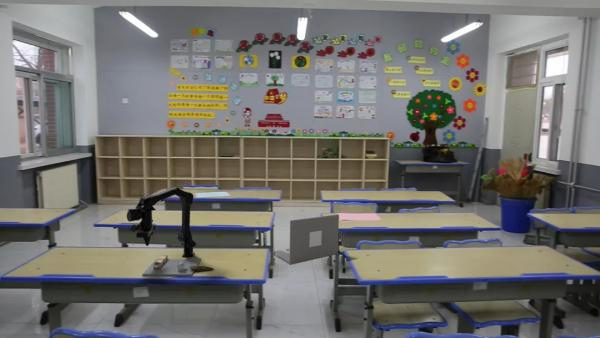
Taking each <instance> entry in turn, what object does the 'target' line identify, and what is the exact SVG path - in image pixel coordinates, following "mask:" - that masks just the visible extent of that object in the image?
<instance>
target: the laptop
mask: <svg viewBox="0 0 600 338" xmlns="http://www.w3.org/2000/svg"><path fill="white" fill-rule="evenodd" d="M339 220H340V214H339V213H337V214H331V215H330V214H329V215H323V216H316V217H307V218H300V219H292V220H289V248H287V249H285V251H284V250H275V251H273V256H274V257H276V258H277V259H279V260H281V261H282V262H284V263H286V264H288V265H290V266H291V265H296V264H301V263H305V262H308V261H313V260H319V259H322V258H323V259H324V258H326V257H330V256H335V255H338V253H339V228H340V227H339V226H340V225H339V224H340V223H339ZM286 251H287V252H286ZM288 252H289V253H288Z"/></svg>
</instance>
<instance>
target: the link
mask: <svg viewBox="0 0 600 338" xmlns="http://www.w3.org/2000/svg"><path fill="white" fill-rule="evenodd" d="M158 259H159V260H158V261H157V262H155V263H154V264H153V269H159V268H161V266H162V265H163V263H164V262H165V261H166V260H167V259H169V257H168V255H167V254H162V255H161V256H160V257H159V258H158Z"/></svg>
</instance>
